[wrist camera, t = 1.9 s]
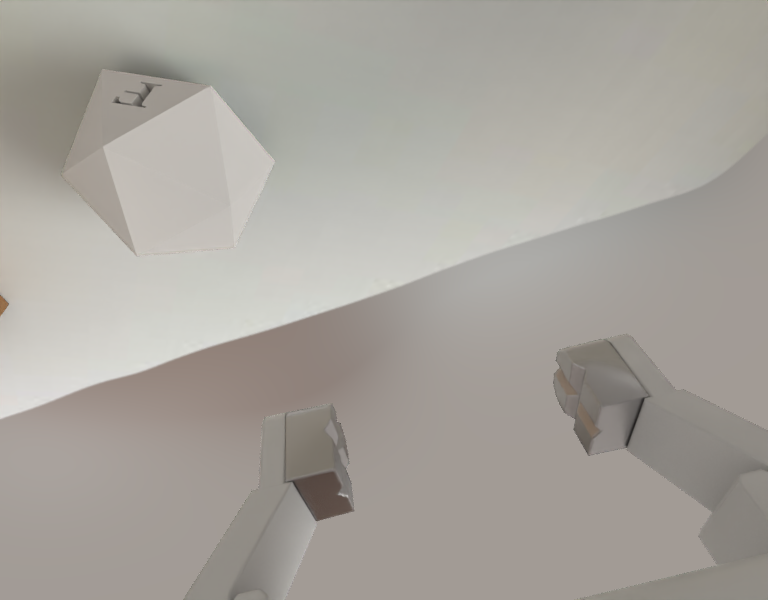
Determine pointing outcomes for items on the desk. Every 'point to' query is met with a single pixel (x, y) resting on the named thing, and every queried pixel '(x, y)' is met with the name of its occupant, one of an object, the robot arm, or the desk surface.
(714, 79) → the desk surface
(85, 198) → the die
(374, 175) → the desk surface
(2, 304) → the carton
